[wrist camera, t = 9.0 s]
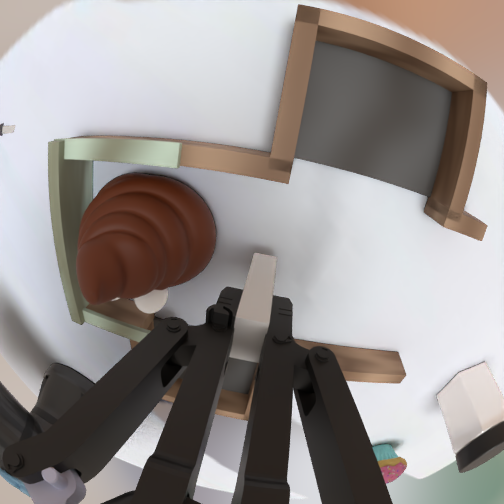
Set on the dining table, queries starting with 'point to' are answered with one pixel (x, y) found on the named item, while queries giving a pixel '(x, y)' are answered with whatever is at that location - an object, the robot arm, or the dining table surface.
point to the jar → (473, 416)
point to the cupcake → (389, 462)
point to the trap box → (310, 149)
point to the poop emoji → (142, 240)
